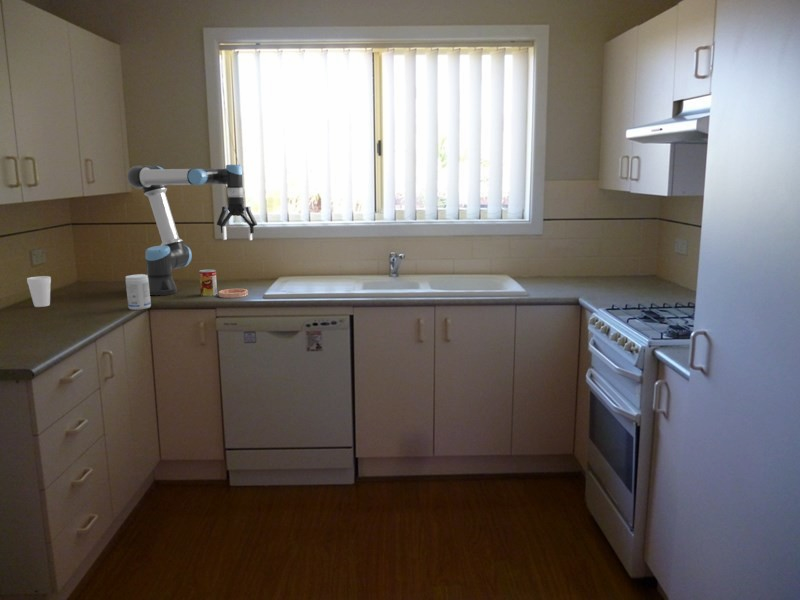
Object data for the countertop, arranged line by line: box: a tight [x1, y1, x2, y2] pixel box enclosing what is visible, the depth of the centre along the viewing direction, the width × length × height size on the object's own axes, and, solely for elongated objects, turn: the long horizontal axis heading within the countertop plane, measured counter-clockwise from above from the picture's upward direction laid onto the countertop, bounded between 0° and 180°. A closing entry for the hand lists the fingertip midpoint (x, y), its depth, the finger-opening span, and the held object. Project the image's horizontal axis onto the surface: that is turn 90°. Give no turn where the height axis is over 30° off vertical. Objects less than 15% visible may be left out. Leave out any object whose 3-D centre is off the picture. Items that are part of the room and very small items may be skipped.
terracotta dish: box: [218, 288, 249, 299], centre depth 322 cm, size 14×14×2 cm
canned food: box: [198, 268, 218, 297], centre depth 324 cm, size 8×8×12 cm
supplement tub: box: [124, 273, 152, 311], centre depth 293 cm, size 10×10×15 cm
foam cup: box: [26, 275, 52, 308], centre depth 301 cm, size 10×9×13 cm
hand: (237, 239), depth 325 cm, fingers open, 13 cm apart
